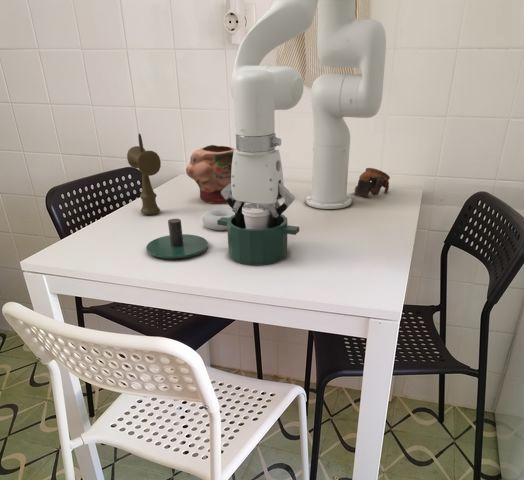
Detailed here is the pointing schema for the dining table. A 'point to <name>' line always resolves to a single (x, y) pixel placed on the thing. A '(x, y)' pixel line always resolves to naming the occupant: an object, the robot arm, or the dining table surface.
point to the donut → (216, 217)
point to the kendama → (145, 174)
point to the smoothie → (256, 216)
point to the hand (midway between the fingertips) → (258, 231)
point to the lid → (176, 243)
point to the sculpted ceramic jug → (211, 171)
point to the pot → (257, 242)
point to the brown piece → (376, 184)
